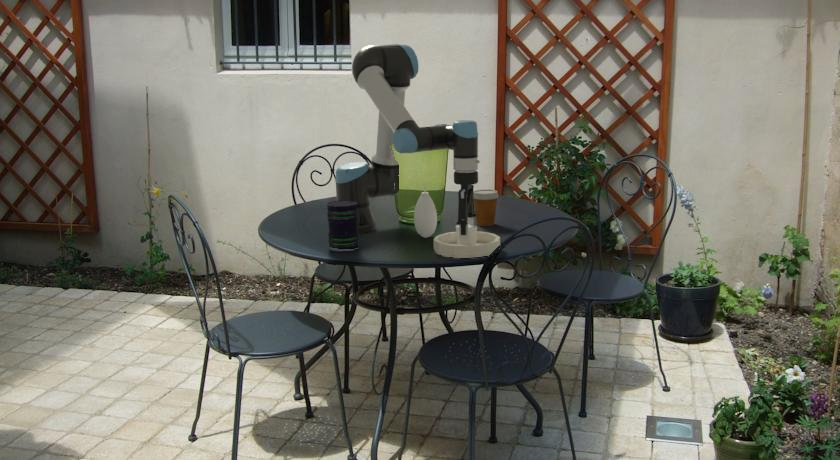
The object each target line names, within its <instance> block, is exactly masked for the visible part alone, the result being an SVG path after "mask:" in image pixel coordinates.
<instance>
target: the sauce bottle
mask: <svg viewBox="0 0 840 460" xmlns="http://www.w3.org/2000/svg"><path fill="white" fill-rule="evenodd" d="M423 187H424V188H423V192H421V193H420V196H419V198H418V199H417V201H416V204H415V207H414V213H413V222H414V227H415V230H416V232H417V234H418V235H420V236H421V237H422V238H425V239H427V238H429V237H431V236H432V235H433V234H435V231H436V230H437V225H438V214H437V209H436V208H437V207H436V206H435V203H434V201H433V198H432V197H431V195H430V193H429V192H428V191H426V184H424V185H423Z"/></svg>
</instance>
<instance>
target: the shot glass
mask: <svg viewBox="0 0 840 460" xmlns="http://www.w3.org/2000/svg"><path fill="white" fill-rule="evenodd" d="M477 231H478V225H477V224H475V223H474V224H468V240H469V245H476V236H477ZM455 232H456V235H457V244H458V245H460V241H459V225H457V224H456V225H455Z"/></svg>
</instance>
